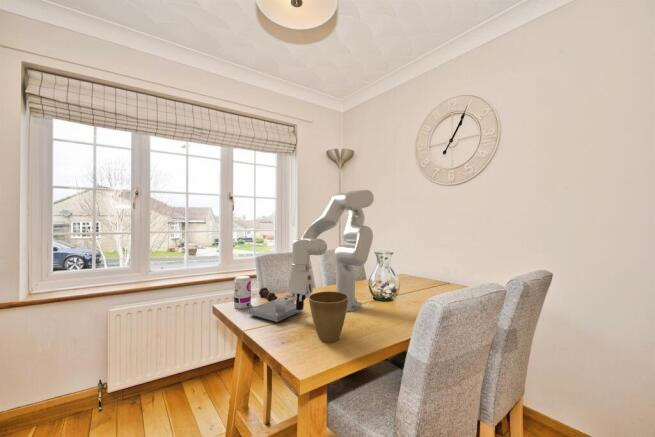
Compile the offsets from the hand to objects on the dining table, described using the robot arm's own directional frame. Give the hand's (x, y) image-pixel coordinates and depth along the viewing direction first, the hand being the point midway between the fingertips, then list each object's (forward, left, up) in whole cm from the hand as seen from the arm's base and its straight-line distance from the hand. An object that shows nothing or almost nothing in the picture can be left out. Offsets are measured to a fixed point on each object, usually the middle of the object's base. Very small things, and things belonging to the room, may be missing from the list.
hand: (299, 309), depth 124 cm
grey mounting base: (+14, -2, -5) cm, 15 cm away
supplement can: (+36, +1, -6) cm, 37 cm away
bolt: (+34, -16, -6) cm, 38 cm away
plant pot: (-20, +8, -6) cm, 22 cm away
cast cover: (+9, 0, -2) cm, 9 cm away
